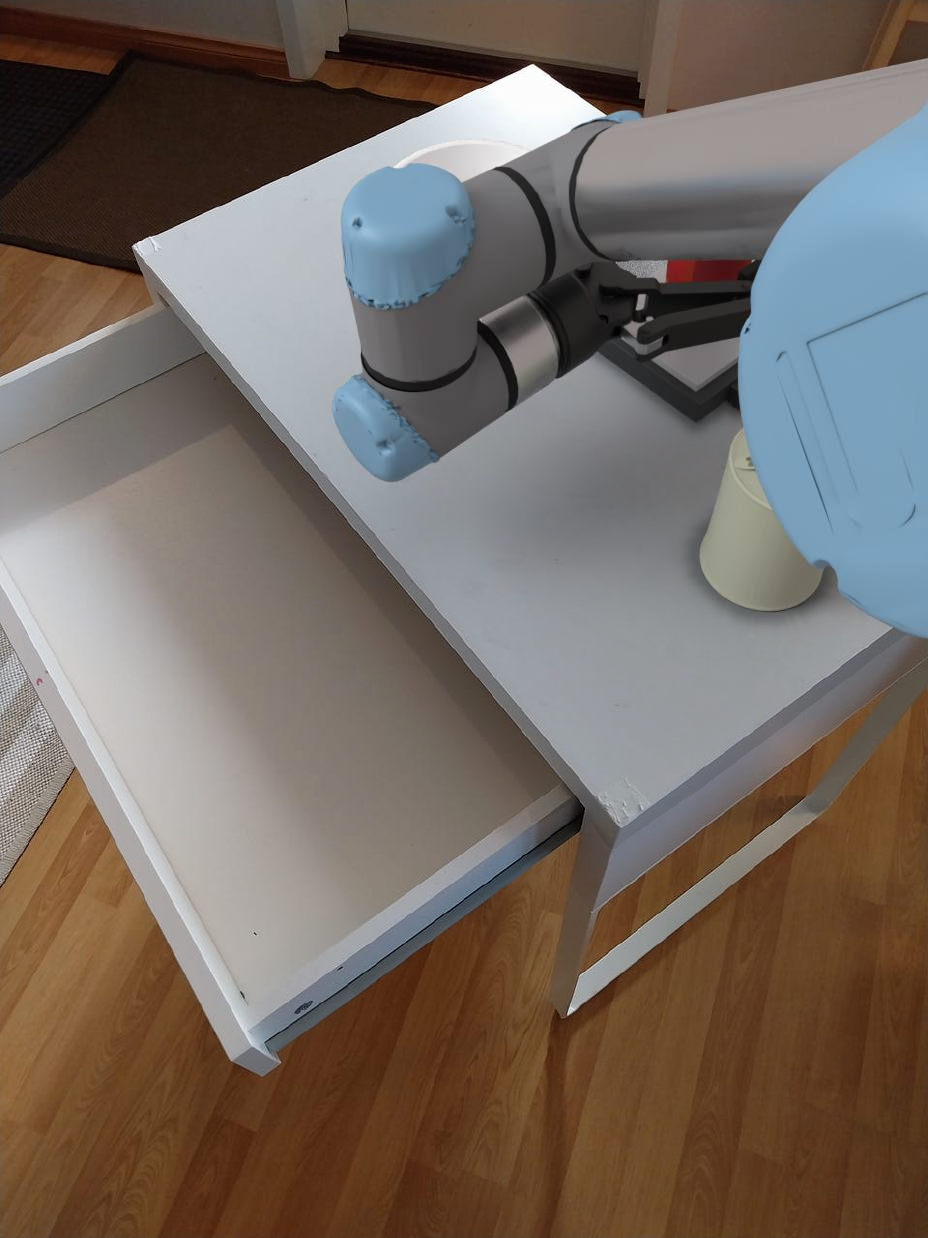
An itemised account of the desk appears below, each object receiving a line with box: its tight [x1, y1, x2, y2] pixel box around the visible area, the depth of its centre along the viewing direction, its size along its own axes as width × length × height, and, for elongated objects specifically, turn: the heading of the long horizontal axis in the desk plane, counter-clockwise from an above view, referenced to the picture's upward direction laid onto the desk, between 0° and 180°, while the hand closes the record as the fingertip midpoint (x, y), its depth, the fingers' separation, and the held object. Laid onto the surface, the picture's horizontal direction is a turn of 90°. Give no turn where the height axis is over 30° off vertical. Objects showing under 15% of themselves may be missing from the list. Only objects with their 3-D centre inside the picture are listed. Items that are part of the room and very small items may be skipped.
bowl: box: [392, 138, 533, 182], centre depth 88 cm, size 17×17×8 cm
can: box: [699, 427, 825, 612], centre depth 67 cm, size 9×9×12 cm
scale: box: [597, 264, 741, 424], centre depth 83 cm, size 16×14×3 cm
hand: (729, 209), depth 74 cm, fingers open, 13 cm apart
